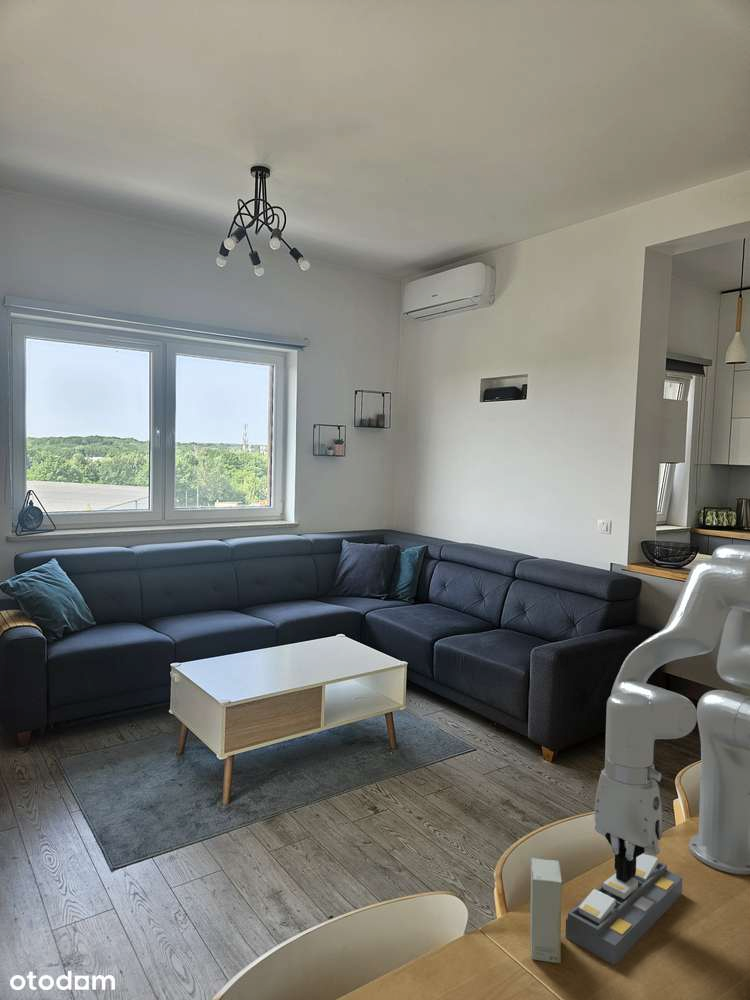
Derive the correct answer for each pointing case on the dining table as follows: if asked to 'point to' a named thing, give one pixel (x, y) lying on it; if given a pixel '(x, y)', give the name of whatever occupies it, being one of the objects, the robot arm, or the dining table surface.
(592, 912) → the block
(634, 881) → the block
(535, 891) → the skincare box
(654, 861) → the plate
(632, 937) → the switch unit
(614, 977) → the dining table surface
